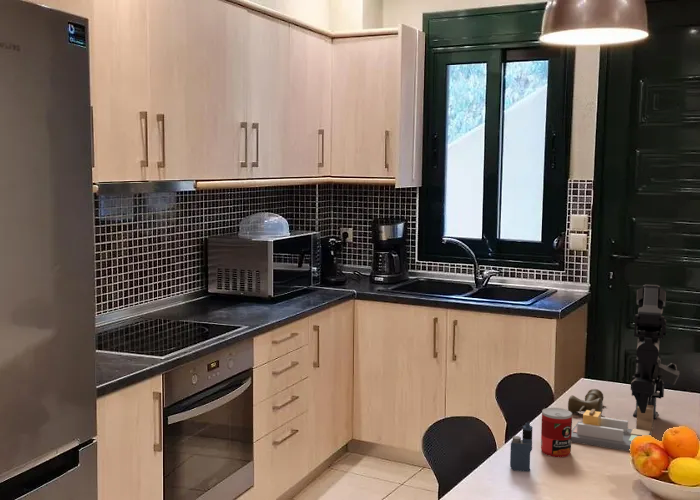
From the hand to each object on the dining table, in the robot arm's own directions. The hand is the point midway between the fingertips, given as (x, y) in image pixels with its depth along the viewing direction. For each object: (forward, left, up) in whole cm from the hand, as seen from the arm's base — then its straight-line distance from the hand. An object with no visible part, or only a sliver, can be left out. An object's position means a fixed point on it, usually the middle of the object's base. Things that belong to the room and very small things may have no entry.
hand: (645, 408), depth 229 cm
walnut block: (0, 0, -6) cm, 6 cm away
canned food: (+30, -18, -7) cm, 36 cm away
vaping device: (+46, -23, -7) cm, 52 cm away
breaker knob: (+13, -13, -5) cm, 18 cm away
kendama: (-10, -18, -7) cm, 21 cm away
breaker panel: (+13, -7, -6) cm, 16 cm away
